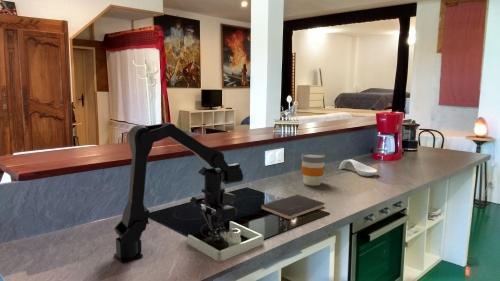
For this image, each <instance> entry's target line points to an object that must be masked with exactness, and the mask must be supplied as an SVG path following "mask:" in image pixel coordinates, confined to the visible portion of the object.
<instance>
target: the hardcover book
mask: <svg viewBox="0 0 500 281" xmlns="http://www.w3.org/2000/svg"><path fill="white" fill-rule="evenodd" d="M325 204H326V202H323V201H319V200H316V199H313V198H310V197H307V196H304V195H301V194H299V193H298V194H294V195H290V196H288V197H285V198H281V199H278V200H275V201H272V202H271V201H270V202H267V203H264V204H261V205H260V210H265V211H266V212H269V213H272V214H275V215H276V216H279V217H282V218H285V219H287V220H291V219H293V218H296V217H299V216H301V215H304V214H307V213H310V212H313V211H316V210H318V209H319V210H320V209H321V208H324V205H325Z"/></svg>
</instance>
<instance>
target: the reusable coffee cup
mask: <svg viewBox="0 0 500 281" xmlns="http://www.w3.org/2000/svg"><path fill="white" fill-rule="evenodd" d="M300 161H301V174H302V179H303V184H305V185H307V186H313V187H315V186H320V185H321V184H322V179H323V175H324V171H325V167H326V166H325V164H326V163H325V162H326V154H322V153H317V152H306V153H305V152H304V153H302V154H301V160H300Z"/></svg>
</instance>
